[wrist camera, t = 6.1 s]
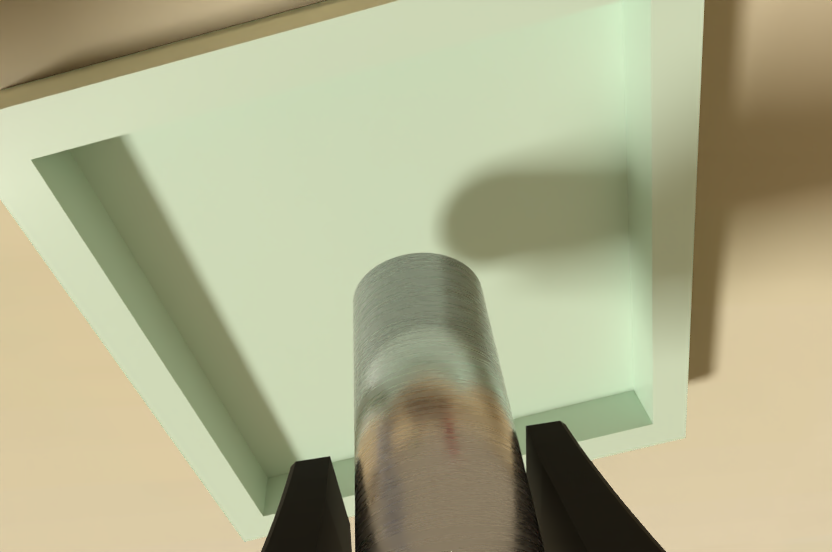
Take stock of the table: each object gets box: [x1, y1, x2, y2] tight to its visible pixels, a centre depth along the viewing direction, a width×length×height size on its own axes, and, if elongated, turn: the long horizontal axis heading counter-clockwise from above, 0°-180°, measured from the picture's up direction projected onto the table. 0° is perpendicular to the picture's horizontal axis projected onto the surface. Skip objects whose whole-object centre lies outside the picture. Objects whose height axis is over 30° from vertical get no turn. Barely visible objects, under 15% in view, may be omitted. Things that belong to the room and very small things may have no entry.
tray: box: [0, 0, 704, 542], centre depth 15 cm, size 14×14×2 cm
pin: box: [353, 253, 545, 552], centre depth 10 cm, size 4×4×8 cm
